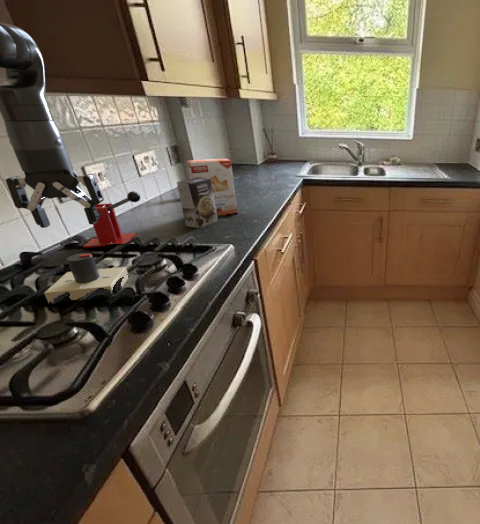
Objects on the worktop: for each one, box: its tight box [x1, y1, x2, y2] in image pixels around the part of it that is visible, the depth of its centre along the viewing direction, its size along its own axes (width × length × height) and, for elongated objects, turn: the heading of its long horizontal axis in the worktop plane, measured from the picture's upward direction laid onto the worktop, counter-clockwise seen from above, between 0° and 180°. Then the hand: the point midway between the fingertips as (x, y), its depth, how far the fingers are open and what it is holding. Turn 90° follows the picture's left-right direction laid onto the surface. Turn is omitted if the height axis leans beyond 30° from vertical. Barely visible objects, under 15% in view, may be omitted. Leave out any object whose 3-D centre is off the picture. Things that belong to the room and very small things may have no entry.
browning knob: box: [66, 252, 100, 283], centre depth 74 cm, size 4×4×6 cm
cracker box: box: [186, 158, 239, 217], centre depth 126 cm, size 14×6×21 cm, turn 126°
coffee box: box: [176, 178, 219, 229], centre depth 115 cm, size 9×6×16 cm
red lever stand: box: [82, 202, 138, 249], centre depth 99 cm, size 11×9×12 cm
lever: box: [102, 190, 141, 213], centre depth 98 cm, size 13×3×3 cm, turn 108°
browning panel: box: [43, 266, 129, 304], centre depth 76 cm, size 12×10×3 cm
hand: (70, 225), depth 71 cm, fingers open, 8 cm apart
